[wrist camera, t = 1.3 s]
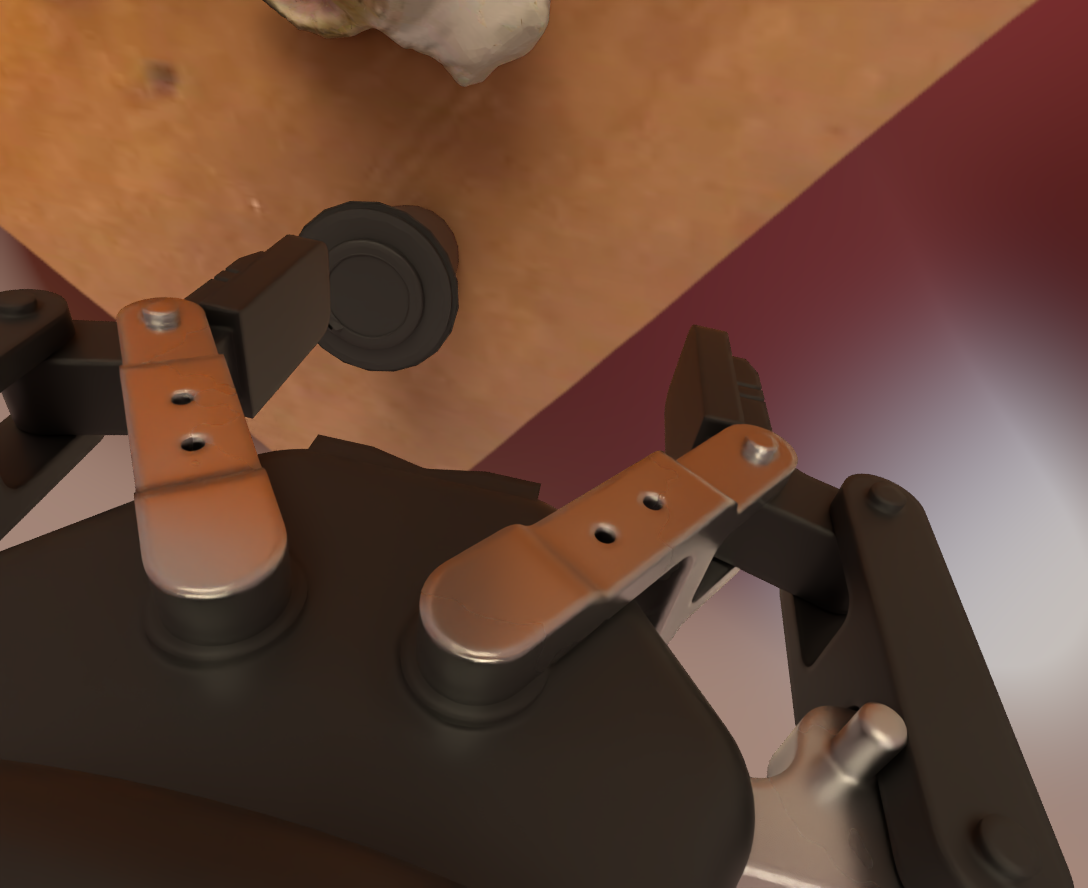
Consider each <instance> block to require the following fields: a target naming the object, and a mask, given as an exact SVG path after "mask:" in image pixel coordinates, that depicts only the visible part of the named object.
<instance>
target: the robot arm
mask: <svg viewBox="0 0 1088 888" xmlns="http://www.w3.org/2000/svg"><path fill="white" fill-rule="evenodd" d="M329 320H330V280H329V254H328V249H327V246H326V244H325V243H324V242H321V241H317V240H312V239H308V238H303V237H299V236H294V235H290V234H289V235H286V236H285V237H283V238H282V239H281V240H280V241H278V242H277V243H276V244H274V245H273V246H272V247H271V248H269V249H268V250H267V251H265V252H263V251H260V252H257V253H254V254H251V255H248V256H244V257H241V258H239V259H238V260H236V261H235V262H234V263H232V264H231V265H229V266H228V267H227V268H226V270H225V271H221V272H220V273H219V274H217V275H216V276H215V277H214V279H211V280H209V281H208V282H207V283H205V284H204V285H203V286H201V287H200V288H198V289H197V290H196V291H194V292H193V293H192V294H190V295H189V296H188V297H186V298H185V299H179V298H167V297H163V298H150V299H145V300H141V301H137V302H134V303H132V304H129V305H127V306H125V307H124V308H123V309H121V310H120V311H119V313H118V314H117V318H116V321H117V322H109V321H108V322H107V321H84V320H72V318H71V314H70V311H69V308H68V305H67V302H66V301H65V299H64V298H63V297H62V296H60V295H58V294H55V293H53V292H49V291H44V290H33V289H19V290H9V291H3V292H0V393H1V392H2V394H3V397H4V400H5V402H6V404H7V407H8V409H9V412H10V414H11V415H9V416H8V417H7V418H6V419H4V420H3V421H2V422H1V423H0V540H1V539H2V538H3V537H4V536H5V535H6V534H7V533H8V532H9V531H10V530H11V529H12V528H13V527H14V526H15V525H16V524H17V523H18V522H19V521H20V520H21V519H22V518H23V517H24V516H26V515H27V513H29V512H30V510H31V509H33V507H35V506H36V504H38V503H39V502H40V500H42V499H43V498H44V497H45V496H46V495H47V494H48V492H50V491H51V490H52V489H53V488H54V487H55V486H56V485H57V484H58V483H59V482H60V481H61V480H62V479H63V478H64V477H65V476H66V475H67V474H68V473H69V472H70V471H71V470H72V469H73V468H74V467H75V466H76V465H77V464H78V463H79V462H80V461H81V460H82V459H83V458H84V457H85V456H86V455H87V454H88V453H89V452H90V451H91V450H92V449H93V448H94V447H95V446H96V445H97V444H98V443H99V442H100V441H101V440H102V439H103V437H104V435H128V436H129V444H130V451H131V458H132V466H133V473H134V480H135V488H136V492H135V493H134V501H131V502H129V503H126V504H123V505H121V506H118V507H116V508H113V509H110V510H108V511H105V512H102V513H100V514H97V515H95V516H92V517H89V518H87V519H84V520H81V521H79V522H76V523H74V524H71V525H68V526H66V527H63V528H60V529H58V530H55V531H53V532H50V533H47V534H45V535H42V536H39V537H37V538H34V539H32V540H29V541H26V542H24V543H21V544H19V545H16V546H13V547H11V548H8V549H6V550H3V551H0V888H1074V885H1073V881H1072V877H1071V875H1070V871H1069V869H1068V866H1067V864H1066V861H1065V859H1064V856H1063V854H1062V851H1061V849H1060V846H1059V844H1058V841H1057V839H1056V836H1055V834H1054V831H1053V829H1052V826H1051V824H1050V821H1049V819H1048V816H1047V814H1046V811H1045V809H1044V806H1043V804H1042V801H1041V799H1040V797H1039V794H1038V792H1037V789H1036V787H1035V784H1034V782H1033V779H1032V777H1031V774H1030V772H1029V769H1028V767H1027V764H1026V762H1025V759H1024V757H1023V754H1022V752H1021V750H1020V747H1019V744H1018V742H1017V739H1016V737H1015V734H1014V732H1013V729H1012V727H1011V724H1010V722H1009V719H1008V717H1007V715H1006V712H1005V710H1004V707H1003V704H1002V702H1001V700H1000V697H999V695H998V692H997V690H996V687H995V685H994V682H993V680H992V677H991V675H990V672H989V670H988V667H987V665H986V662H985V660H984V657H983V655H982V652H981V650H980V647H979V645H978V642H977V640H976V638H975V635H974V632H973V630H972V627H971V625H970V623H969V621H968V617H967V615H966V612H965V610H964V608H963V605H962V603H961V600H960V598H959V595H958V593H957V590H956V588H955V585H954V583H953V580H952V578H951V575H950V573H949V570H948V568H947V565H946V563H945V560H944V558H943V555H942V553H941V550H940V548H939V545H938V543H937V540H936V538H935V535H934V533H933V531H932V528H931V525H930V523H929V520H928V518H927V515H926V513H925V511H924V509H923V507H922V506H921V504H920V503H919V501H917V500H916V498H915V497H914V496H913V495H911V494H910V493H909V492H908V491H906V490H905V489H904V488H902V487H901V486H899V485H897V484H895V483H893V482H891V481H889V480H887V479H884V478H881V477H878V476H875V475H870V474H855V475H851V476H849V477H848V478H846V480H845V481H844V483H843V484H842V486H841V488H840V489H838V488H835V487H833V486H831V485H829V484H826V483H824V482H822V481H819V480H817V479H815V478H813V477H810V476H808V475H806V474H805V473H803V472H801V471H799V470H798V469H796V468H795V467H796V465H797V461H798V459H797V455H796V453H795V451H794V449H793V448H792V446H791V445H790V444H789V443H788V442H786V441H785V440H784V439H783V438H782V437H780V436H778V435H777V434H775V433H773V432H772V428H771V425H770V420H769V416H768V412H767V408H766V404H765V402H764V395H763V391H762V390H761V383H760V379H759V375H758V373H757V372H756V371H755V369H754V368H753V367H752V366H751V365H750V364H749V362H748V361H747V360H746V359H743V358H738V357H734V356H732V353H731V347H730V342H729V337H728V333H727V332H725V331H721V330H716V329H712V328H707V327H702V326H698V325H692V327H691V328H690V330H689V333H688V335H687V338H686V341H685V344H684V347H683V350H682V352H681V355H680V358H679V361H678V364H677V367H676V369H675V372H674V375H673V378H672V381H671V384H670V387H669V390H668V394H667V399H666V404H665V452H663V451H656V452H654V453H652V454H650V455H649V456H647V457H645V458H644V459H642V460H640V461H639V462H637V463H635V464H634V465H632V466H630V467H629V468H627V469H625V470H624V471H622V472H620V473H619V474H617V475H615V476H614V477H612V478H610V479H609V480H607V481H605V482H604V483H602V484H600V485H599V486H597V487H595V488H594V489H592V490H590V491H589V492H587V493H586V494H584V495H582V496H580V497H579V498H577V499H575V500H574V501H572V502H570V503H569V504H567V505H565V506H564V507H562V508H560V509H559V510H558V509H556V508H554V507H552V506H550V505H548V504H547V503H545V502H542V501H540V500H538V495H539V490H540V486H541V484H540V483H535V482H530V481H526V480H521V479H517V478H512V477H508V476H503V475H498V474H494V473H490V472H482V471H481V472H480V471H460V470H438V469H426V468H422V467H420V466H417V465H415V464H412V463H410V462H408V461H405V460H403V459H401V458H398V457H396V456H394V455H391V454H389V453H387V452H384V451H382V450H380V449H377V448H375V447H372V446H368V445H363V444H359V443H354V442H350V441H345V440H341V439H336V438H332V437H327V436H323V435H318V436H317V437H316V438H315V440H314V441H313V443H312V444H311V446H310V447H309V449H288V450H279V451H272V452H267V453H262V454H258V455H257V452H256V450H255V446H254V443H253V441H252V437H251V434H250V432H249V429H248V426H247V423H246V420H245V417H248V418H254V417H255V415H256V414H257V413H258V412H259V411H260V410H261V408H262V407H263V406H264V405H265V404H266V403H267V401H268V400H269V399H270V398H271V397H272V396H273V394H274V393H275V392H276V391H277V390H278V389H279V387H280V386H281V385H282V384H283V383H284V382H285V380H286V379H287V378H288V377H289V376H290V375H291V373H292V372H293V371H294V370H295V369H296V368H297V366H298V365H299V364H300V363H301V362H302V361H303V359H304V358H305V357H306V356H307V355H308V354H309V352H310V351H311V350H312V349H313V348H314V347H315V346H316V344H317V343H318V342H319V341H320V340H321V339H322V337H323V336H324V334H325V333H326V330H327V328H328V324H329ZM740 569H741V570H743V571H745V572H747V573H749V574H752V575H753V576H756V577H758V578H760V579H762V580H764V581H766V582H768V583H770V584H772V585H774V586H776V587H778V588H780V600H781V609H782V617H783V625H784V634H785V642H786V651H787V658H788V666H789V675H790V683H791V692H792V699H793V708H794V717H795V725H796V727H795V728H794V730H793V731H792V732H791V734H790V735H789V736H788V737H787V739H786V740H785V741H784V742H783V743H782V745H781V746H780V747H779V748H778V750H777V751H776V752H775V753H774V755H773V756H772V758H771V760H770V761H769V765H768V770H767V778H752V777H750V776H749V773H748V770H747V767H746V764H745V761H744V759H743V756H742V754H741V752H740V750H739V748H738V746H737V744H736V742H735V740H734V738H733V737H732V735H731V734H730V732H729V731H728V729H727V728H726V726H725V725H724V723H723V722H722V721H721V719H720V718H719V716H718V715H717V714H716V712H715V711H714V709H713V708H712V707H711V705H710V704H709V703H708V701H707V700H706V698H705V697H704V696H703V694H702V693H701V691H700V690H699V689H698V687H697V686H696V685H695V683H694V682H693V680H692V679H691V678H690V676H689V675H688V673H687V672H686V671H685V669H684V668H683V666H682V665H681V664H680V662H679V661H678V660H677V658H676V657H675V655H674V654H673V653H672V651H671V650H670V649H669V647H668V646H667V645H668V644H669V642H670V641H671V639H672V638H673V637H674V635H675V634H676V632H677V631H678V629H679V628H680V627H681V626H682V624H683V623H684V622H685V621H686V620H687V619H688V618H689V617H690V616H691V615H692V614H693V613H694V612H695V611H697V610H698V609H699V608H700V607H701V606H702V605H703V604H704V603H705V602H706V601H707V600H709V599H710V598H711V597H712V596H713V595H714V594H715V593H716V592H717V591H718V590H719V589H720V588H722V587H723V586H724V585H725V584H726V583H727V582H728V581H729V580H730V579H731V578H732V577H733V576H735V575H736V574H737V573H738V572H739V570H740Z"/></svg>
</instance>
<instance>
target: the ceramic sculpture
mask: <svg viewBox="0 0 1088 888" xmlns="http://www.w3.org/2000/svg"><path fill="white" fill-rule="evenodd" d="M263 1H264V2H265V3H267V4H268V5H269V6H270V7H271V8H272V9H274V10H275V11H276V12H278V13H279V14H280V15H281V16H282V17H284V18H286V19H287V20H288V21H289V22H290V23H292V24H293V25H294V26H295V27H296V28H297V29H298V30H305V31H309V32H312V33H315V34H318V35H320V36H322V37H324V38H325V39H332V38H342V37H350V36H354V35H357V34H358V33H360V32H362V31H365V30H368V29H371V28H375V29H377V30H379V31H381V32H383V33H384V34H385V35H387V36H388V37H389V38H391V39H392V40H393V41H394V42H395V43H397V44H398V45H400V46H401V47H403V48H405V49H414V50H415V51H417V52H419V53H422V54H426V55H428V56H430V57H432V58H434V59H436V60H437V61H438V62H440V63H441V64H443V66H444V67H445V69H446V70H447V71H448V72H449V73H450V74H451V75H452V77H453V78H454V80H455V81H456V82H457V83H458V84H459V85H460V86H463V87H466V86H468V85H472V84H477V83H480V82H483V81H484V80H485V79H486V78H487V77H488V76H489V75H490V74H491V73H492V72H493V71H494V69H495V68H496V67H498V66H500V65H502V64H505V63H508V62H510V61H513V60H515V59H518V58H520V57H522V56H525V55H526V54H527V53H528V52H529V51H531V50H532V48H533V47H534V46H535V45H536V43H537V42H538V40H539V39H540V37H541V36H542V35H543V33H544V31H545V29H546V27H547V24H548V21H549V11H550V0H263Z"/></svg>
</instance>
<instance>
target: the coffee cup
mask: <svg viewBox="0 0 1088 888" xmlns="http://www.w3.org/2000/svg"><path fill="white" fill-rule="evenodd" d="M299 237H303V238H308V239H312V240H317V241H321V242H324V243H325V244H326V246H327V249H328V254H329V280H330V320H329V324H328V328H327V330H326V333H325V334H324V336H323V337H322V339H321V340H320V341H319V342H318V344H319V345H320V346H321V347H322V348H323V349H325V350H326V351H328V352H329V353H330V354H332V355H333V356H335V357H337V358H338V359H340V360H341V361H343V362H344V363H347V364H350V365H353V366H356V367H359V368H362V369H365V370H368V371H392V372H394V371H398V370H401V369H405V368H409V367H412V366H416V365H418V364H420V363H421V362H423V361H424V360H426V359H427V358H429V357H430V356H431V355H433V354H434V353H436V352H437V351H438V350H439V348H440V347H441V346H442V344H443V343H444V342H445V340H446V339H447V337H448V336H449V335H450V333H451V332H452V329H453V325H454V322H455V318H456V315H457V312H458V308H459V304H458V281H457V278H456V272H457V267H458V246H457V243H456V240H455V237H454V234H453V232H452V231H451V229H450V228H449V227H448V225H447V224H446V222H445V221H444V220H443V219H442V218H440V217H439V216H438V215H436V214H435V213H434V212H432V211H430V210H428V209H425V208H422V207H419V206H406V205H403V206H394V207H391V206H388V205H386V204H383V203H380V202H362V201H349V202H346V203H343V204H340V205H337V206H334V207H331V208H328V209H325V210H323V211H322V212H321V213H320V214H318V215H317V216H316V217H315V218H314V219H312V220H311V221H310V222H309V223H308V224H306V225H305V226H304V227H303V229H302V231H301V233H300V234H299Z"/></svg>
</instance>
